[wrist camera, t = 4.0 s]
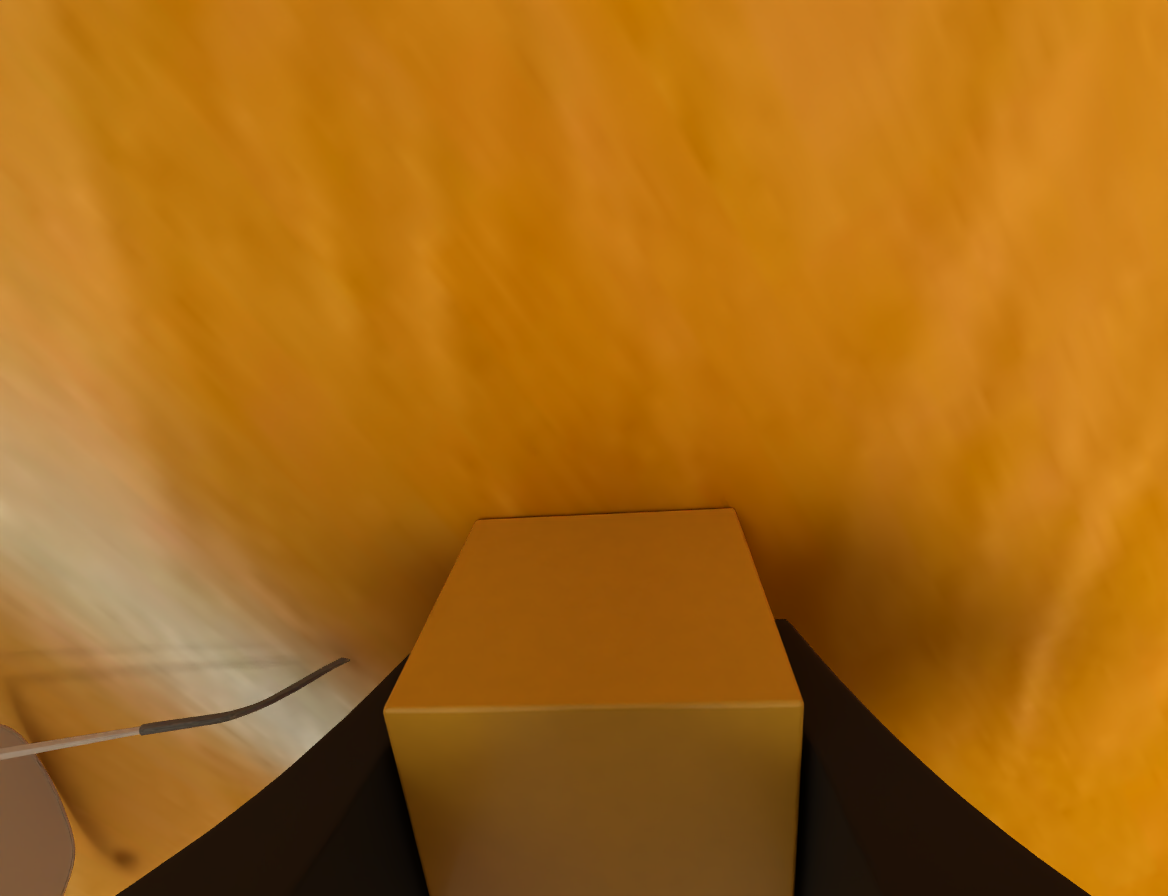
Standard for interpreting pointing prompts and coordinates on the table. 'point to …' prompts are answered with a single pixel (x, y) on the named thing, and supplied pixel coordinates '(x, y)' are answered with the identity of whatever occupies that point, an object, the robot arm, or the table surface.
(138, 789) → the table surface
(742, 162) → the table surface
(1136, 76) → the table surface
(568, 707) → the block
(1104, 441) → the table surface
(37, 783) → the eyeglasses
